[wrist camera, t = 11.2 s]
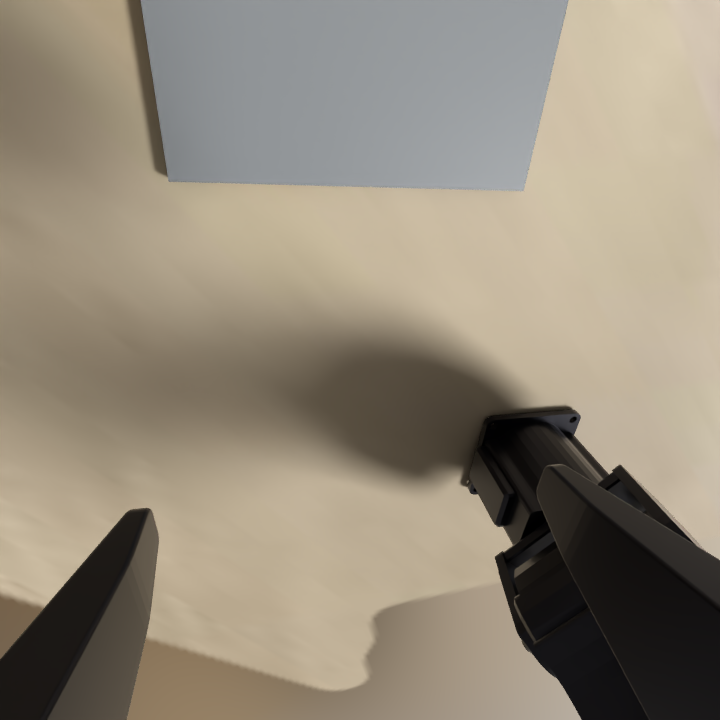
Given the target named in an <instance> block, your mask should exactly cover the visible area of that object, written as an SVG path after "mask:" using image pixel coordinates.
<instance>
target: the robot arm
mask: <svg viewBox="0 0 720 720" xmlns="http://www.w3.org/2000/svg"><path fill="white" fill-rule="evenodd" d="M580 418H581V417H580V415H579V414H578V413H577V411H575V410H562V411H549V412H537V413H524V414H511V415H499V416H491V417H488V418H487V419H486V420H485V421H484V424H483V428H482V432H481V436H480V440H479V443H478V447H477V449H476V450H475V454H474V458H473V462H472V466H471V470H470V474H469V482H468V489H469V491H470V493H471V494H478V495H479V496H480V498H481V500H482V502H483V504H484V506H485V508H486V509H487V511H488V513H489V515H490V517H491V519H492V521H493V523H494V524H495V525H496V526H497V527H504V529H505V531H506V533H507V535H508V537H509V538H510V540H511V542H512V544H513V546H512V547H510V548H509V549H508V550H506V551H505V552H503V551H502V552H501V553H499V554H498V555H497V556H495V560H496V563H497V566H498V570H499V575H500V579H501V582H502V585H503V588H504V591H505V595H506V598H507V601H508V605H509V608H510V611H511V614H512V618H513V621H514V624H515V627H516V630H517V633H518V635H519V636H520V638H521V640H522V643H523V645H524V647H525V648H526V650H527V651H528V652H530V653H532V654H533V655H534V656H535V658H536V659H537V660H538V662H539V663H540V664H541V665H542V666H543V667H544V668H545V669H546V670H547V671H548V672H549V673H550V674H551V675H553V676H554V677H556V678H557V679H558V680H559V682H560V683H561V685H562V686H563V688H564V689H565V691H566V693H567V694H568V696H569V698H570V700H571V701H572V703H573V705H574V706H575V708H576V710H577V711H578V714H579V715H580V717H581V719H582V720H720V560H719V559H717V558H716V557H714V556H712V555H711V554H709V553H708V552H706V551H705V550H704V549H703V548H702V547H701V546H700V545H699V543H698V542H697V541H696V540H695V539H694V538H693V537H692V536H691V535H690V533H689V532H688V531H687V530H686V529H685V528H684V527H683V526H682V525H681V524H680V523H679V522H678V521H677V520H676V519H675V518H674V517H673V516H672V515H671V514H670V513H669V512H668V511H667V510H666V509H665V508H664V507H663V506H662V504H661V503H660V502H659V501H658V500H657V499H656V498H655V497H654V496H653V495H652V494H651V493H650V492H649V491H647V490H646V489H645V488H644V487H643V486H642V485H641V484H640V483H639V482H638V481H637V480H636V479H635V478H634V477H633V476H632V475H631V474H630V473H629V472H628V471H627V470H626V469H625V468H623V467H622V466H621V465H619V466H617V467H616V468H615V469H613V470H612V471H613V472H612V473H611V474H610V475H609V474H608V473H607V472H606V471H605V470H604V468H603V467H602V466H601V465H600V464H599V463H598V462H597V461H596V460H595V458H594V457H593V456H592V455H591V454H590V453H589V452H588V451H587V450H586V448H585V447H584V446H583V445H582V444H581V443H580V442H579V441H578V440H577V438H576V437H575V436H574V434H575V431H576V429H577V426H578V423H579V421H580ZM492 424H493V425H492ZM158 544H159V536H158V531H157V527H156V524H155V520H154V516H153V513H152V511H151V509H149V508H141V509H132V510H129V511H128V512H126V514H125V515H124V516H123V517H122V518H121V519H120V520H119V522H118V523H117V524H116V525H115V526H114V527H113V529H112V530H111V531H110V532H109V533H108V534H107V536H106V537H105V538H104V539H103V540H102V541H101V543H100V544H99V545H98V546H97V547H96V548H95V550H94V551H93V552H92V553H91V554H90V555H89V557H88V558H87V559H86V560H85V561H84V562H83V563H82V565H81V566H80V567H79V568H78V569H77V570H76V572H75V573H74V574H73V575H72V576H71V577H70V579H69V580H68V581H67V582H66V583H65V584H64V586H63V587H62V588H61V589H60V590H59V591H58V593H57V594H56V595H55V596H54V597H53V598H52V600H51V601H50V602H49V603H48V604H47V605H46V607H45V608H44V609H43V610H42V611H41V612H40V614H39V615H38V616H37V617H36V618H35V619H34V621H33V622H32V623H31V624H30V625H29V626H28V628H27V629H26V630H25V631H24V632H23V633H22V634H21V636H20V637H19V638H18V639H17V640H16V641H15V643H14V644H13V645H12V646H11V647H10V649H9V650H8V651H7V652H6V653H5V654H4V656H3V657H2V658H1V659H0V720H127V716H128V711H129V707H130V703H131V698H132V694H133V690H134V685H135V681H136V677H137V673H138V668H139V664H140V660H141V656H142V651H143V647H144V643H145V638H146V634H147V629H148V624H149V619H150V612H151V604H152V596H153V587H154V579H155V570H156V562H157V553H158Z"/></svg>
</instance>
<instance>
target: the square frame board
mask: <svg viewBox="0 0 720 720" xmlns="http://www.w3.org/2000/svg"><path fill="white" fill-rule="evenodd" d="M567 4H568V0H141V7H142V13H143V19H144V26H145V32H146V39H147V45H148V52H149V58H150V65H151V71H152V78H153V84H154V90H155V97H156V103H157V110H158V116H159V123H160V129H161V136H162V142H163V149H164V155H165V162H166V168H167V174H168V181H169V182H202V183H240V184H277V185H314V186H352V187H389V188H426V189H464V190H501V191H524V187H525V183H526V178H527V174H528V170H529V166H530V161H531V157H532V153H533V149H534V144H535V140H536V136H537V132H538V127H539V123H540V119H541V115H542V110H543V106H544V102H545V98H546V93H547V89H548V85H549V81H550V76H551V72H552V68H553V64H554V59H555V55H556V51H557V47H558V42H559V38H560V34H561V30H562V25H563V21H564V17H565V13H566V8H567Z"/></svg>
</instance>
